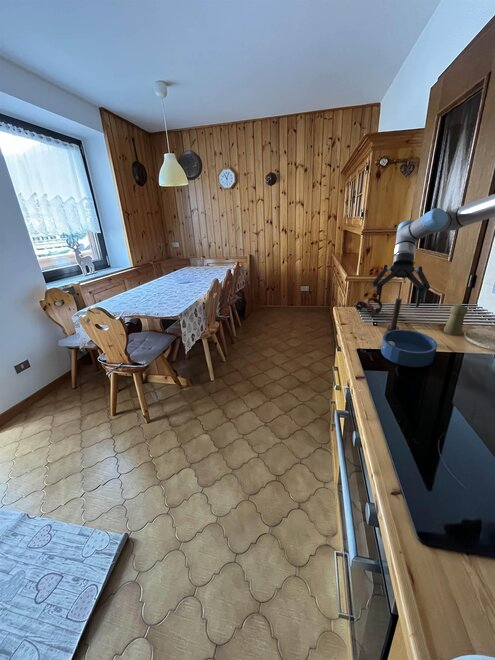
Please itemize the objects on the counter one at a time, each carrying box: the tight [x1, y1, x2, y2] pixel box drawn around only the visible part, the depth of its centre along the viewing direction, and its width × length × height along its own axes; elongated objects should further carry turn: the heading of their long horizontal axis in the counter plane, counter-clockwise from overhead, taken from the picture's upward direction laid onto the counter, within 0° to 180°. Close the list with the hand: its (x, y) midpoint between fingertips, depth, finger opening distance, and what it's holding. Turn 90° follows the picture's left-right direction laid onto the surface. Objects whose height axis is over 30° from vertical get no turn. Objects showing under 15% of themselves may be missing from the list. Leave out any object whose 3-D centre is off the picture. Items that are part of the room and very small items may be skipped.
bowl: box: [380, 329, 439, 368], centre depth 99 cm, size 17×17×6 cm
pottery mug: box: [354, 297, 383, 317], centre depth 132 cm, size 12×10×8 cm
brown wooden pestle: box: [385, 297, 403, 333], centre depth 110 cm, size 4×4×15 cm
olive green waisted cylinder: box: [443, 304, 468, 336], centre depth 110 cm, size 6×6×11 cm
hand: (397, 303), depth 111 cm, fingers open, 13 cm apart
